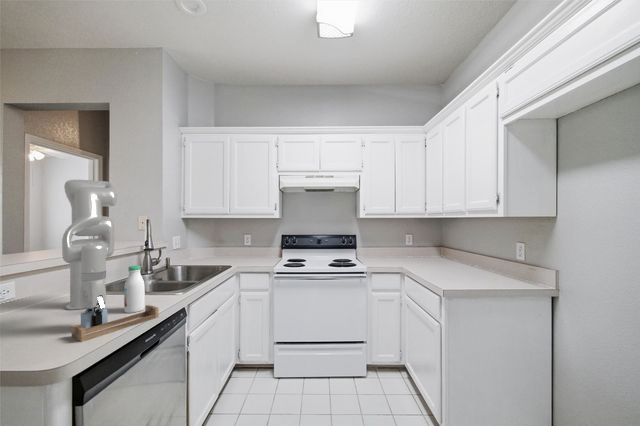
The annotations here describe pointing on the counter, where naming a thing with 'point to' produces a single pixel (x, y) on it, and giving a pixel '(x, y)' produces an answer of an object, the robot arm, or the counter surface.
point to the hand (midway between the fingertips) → (94, 324)
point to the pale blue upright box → (87, 318)
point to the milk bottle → (134, 291)
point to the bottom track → (81, 332)
